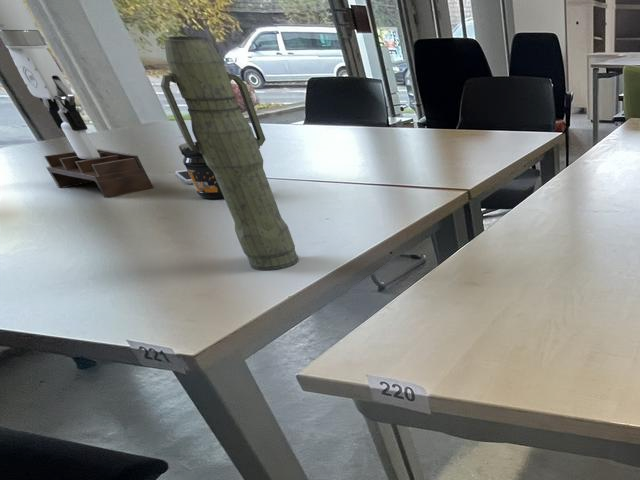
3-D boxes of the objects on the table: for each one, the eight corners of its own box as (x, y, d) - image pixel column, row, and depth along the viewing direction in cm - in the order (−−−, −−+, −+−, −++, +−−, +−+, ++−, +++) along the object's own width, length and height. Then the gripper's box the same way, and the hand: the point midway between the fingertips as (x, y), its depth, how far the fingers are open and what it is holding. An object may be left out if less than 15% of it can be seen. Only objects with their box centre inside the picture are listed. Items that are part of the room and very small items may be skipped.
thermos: (315, 260, 102) (238, 37, 80) (253, 276, 96) (151, 37, 73) (294, 249, 107) (216, 36, 84) (234, 264, 100) (132, 35, 77)
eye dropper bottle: (81, 161, 134) (50, 106, 126) (78, 157, 137) (47, 104, 129) (101, 158, 136) (72, 105, 128) (98, 155, 139) (69, 103, 131)
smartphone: (202, 171, 157) (201, 167, 157) (216, 180, 149) (214, 176, 148) (176, 174, 153) (174, 170, 153) (188, 184, 145) (186, 180, 144)
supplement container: (189, 198, 135) (165, 146, 127) (221, 188, 142) (200, 139, 135) (221, 201, 133) (199, 149, 125) (252, 191, 140) (233, 142, 133)
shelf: (106, 197, 133) (87, 163, 128) (58, 187, 140) (37, 154, 135) (153, 187, 142) (137, 155, 137) (105, 178, 149) (88, 147, 144)
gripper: (-16, 39, 120) (37, 128, 132) (24, 41, 115) (76, 134, 127) (22, 38, 126) (70, 124, 137) (62, 41, 120) (109, 130, 132)
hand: (73, 128), depth 132 cm, fingers closed on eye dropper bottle, 5 cm apart
